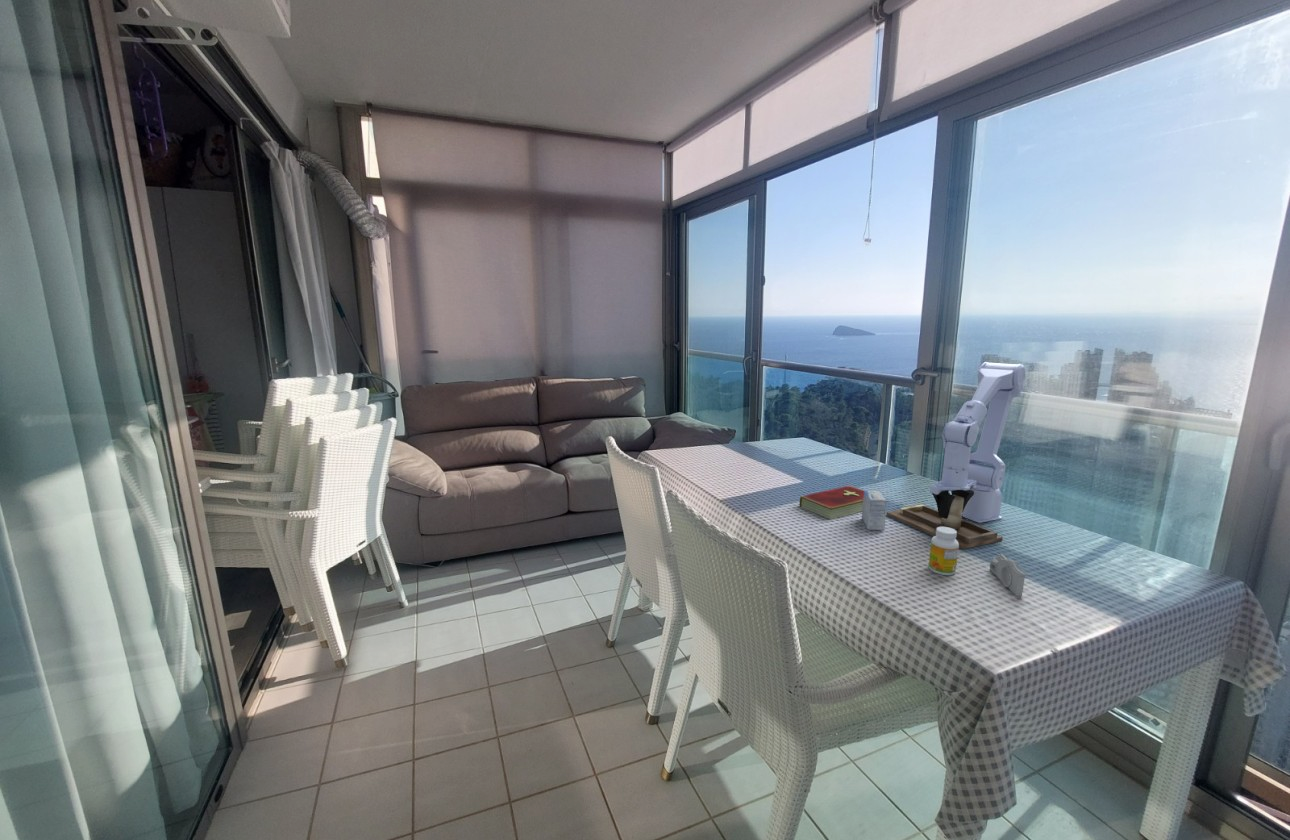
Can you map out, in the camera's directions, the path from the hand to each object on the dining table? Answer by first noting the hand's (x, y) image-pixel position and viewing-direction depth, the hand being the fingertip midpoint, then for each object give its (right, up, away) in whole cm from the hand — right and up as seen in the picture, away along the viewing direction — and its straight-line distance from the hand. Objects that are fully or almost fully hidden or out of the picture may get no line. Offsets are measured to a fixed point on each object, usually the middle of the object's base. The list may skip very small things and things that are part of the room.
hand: (949, 516), depth 138 cm
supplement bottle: (-14, -9, -21) cm, 27 cm away
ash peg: (0, -3, 0) cm, 3 cm away
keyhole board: (-1, -4, +3) cm, 5 cm away
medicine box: (-19, -4, +5) cm, 20 cm away
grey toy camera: (-4, -10, -26) cm, 28 cm away
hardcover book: (-23, -1, +18) cm, 29 cm away
